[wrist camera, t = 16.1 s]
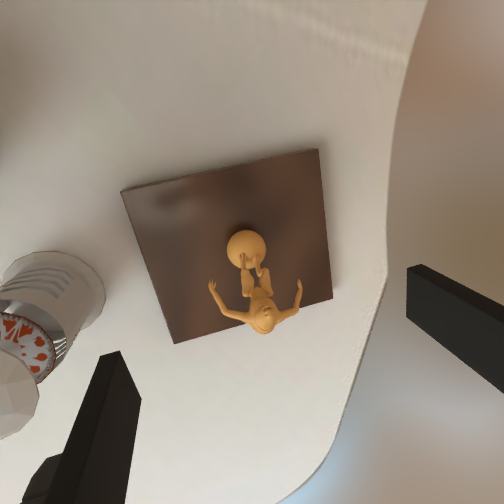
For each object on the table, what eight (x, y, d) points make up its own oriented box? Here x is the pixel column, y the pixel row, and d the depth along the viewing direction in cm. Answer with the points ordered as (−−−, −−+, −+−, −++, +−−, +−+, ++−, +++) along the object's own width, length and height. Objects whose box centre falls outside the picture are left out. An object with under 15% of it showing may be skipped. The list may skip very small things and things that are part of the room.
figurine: (281, 227, 32) (331, 269, 21) (275, 277, 34) (318, 340, 23) (204, 224, 31) (215, 269, 19) (202, 278, 32) (211, 346, 21)
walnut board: (174, 337, 36) (173, 344, 34) (122, 189, 29) (119, 191, 28) (328, 293, 38) (333, 298, 37) (312, 148, 32) (318, 148, 30)
